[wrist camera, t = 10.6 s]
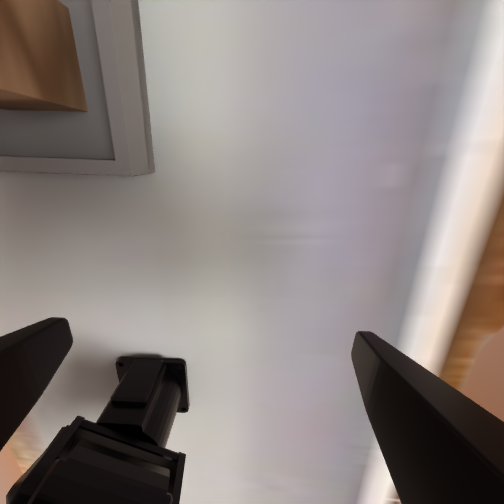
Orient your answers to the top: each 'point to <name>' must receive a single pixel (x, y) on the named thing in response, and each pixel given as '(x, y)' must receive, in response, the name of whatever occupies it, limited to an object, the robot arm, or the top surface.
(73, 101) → the walnut block
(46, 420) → the top surface
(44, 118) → the grey square tray
